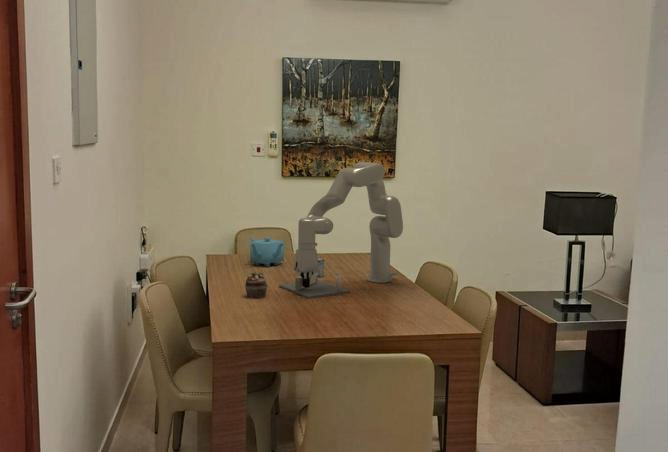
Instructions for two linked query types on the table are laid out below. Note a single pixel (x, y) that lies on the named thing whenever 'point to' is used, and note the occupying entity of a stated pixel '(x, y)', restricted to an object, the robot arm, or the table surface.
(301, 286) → the bar
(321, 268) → the medicine box
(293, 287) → the gate base
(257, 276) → the cupcake
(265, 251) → the teakettle
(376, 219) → the robot arm
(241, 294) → the table surface
